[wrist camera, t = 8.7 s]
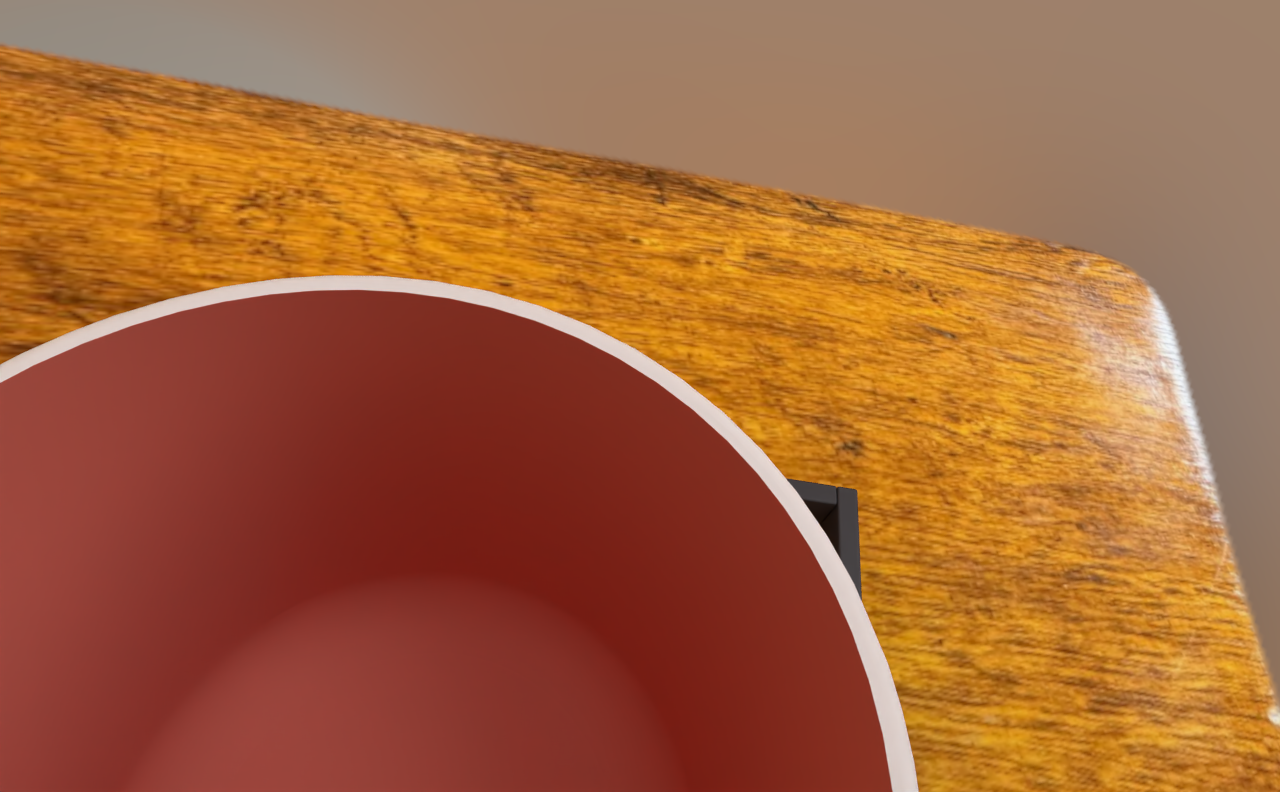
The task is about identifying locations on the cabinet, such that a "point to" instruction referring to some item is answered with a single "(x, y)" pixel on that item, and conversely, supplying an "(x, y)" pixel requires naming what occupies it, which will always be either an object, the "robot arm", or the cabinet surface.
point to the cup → (410, 562)
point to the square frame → (836, 521)
